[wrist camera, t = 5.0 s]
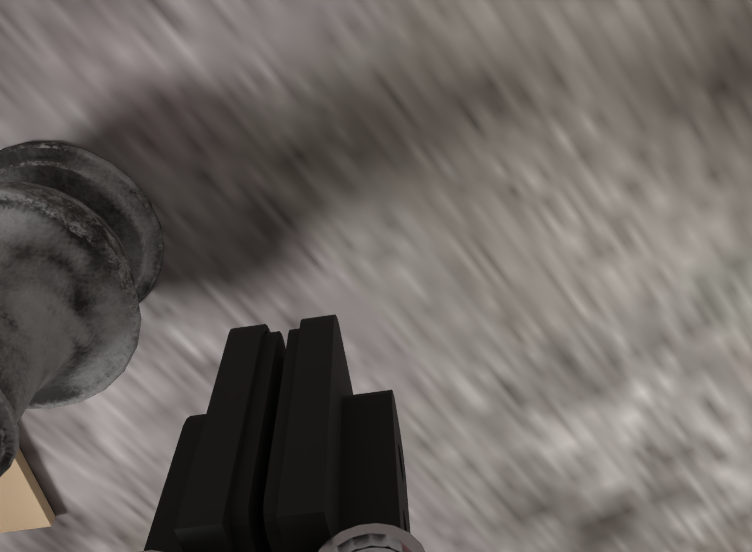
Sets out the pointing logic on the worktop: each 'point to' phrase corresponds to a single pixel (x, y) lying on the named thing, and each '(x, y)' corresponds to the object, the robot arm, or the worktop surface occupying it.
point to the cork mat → (22, 499)
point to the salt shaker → (68, 278)
